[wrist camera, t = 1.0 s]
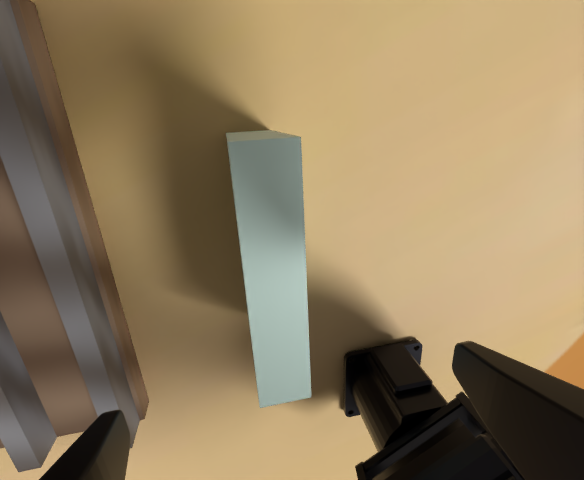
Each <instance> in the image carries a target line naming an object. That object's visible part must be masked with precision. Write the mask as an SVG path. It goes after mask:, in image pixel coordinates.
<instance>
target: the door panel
mask: <svg viewBox="0 0 584 480" xmlns="http://www.w3.org/2000/svg"><path fill="white" fill-rule="evenodd" d="M226 138H227V147H228V155H229V163H230V171H231V180H232V188H233V196H234V204H235V213H236V221H237V229H238V237H239V246H240V254H241V262H242V270H243V279H244V287H245V295H246V303H247V312H248V320H249V327H250V335H251V343H252V351H253V358H254V366H255V374H256V382H257V390H258V397H259V405H260V408H262V407H267V406H272V405H277V404H282V403H286V402H291V401H296V400H301V399H306V398H310V397H311V375H310V350H309V325H308V301H307V276H306V251H305V227H304V202H303V177H302V153H301V137H299V136H295V135H290V134H286V133H281V132H277V131H272V130H262V131H246V132H230V133H226Z"/></svg>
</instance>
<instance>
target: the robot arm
mask: <svg viewBox="0 0 584 480" xmlns="http://www.w3.org/2000/svg"><path fill="white" fill-rule="evenodd" d="M421 354H422V344H421V343H420V342H419V341H418V340H411V341H405V342H400V343H395V344H389V345H384V346H379V347H373V348H368V349H363V350H357V351H352V352H348V353H347V354H346V355H345V356H344V412H345V415H346V416H347V417H352V416H356V415H361V417H362V419H363V421H364V423H365V425H366V427H367V429H368V432H369V434H370V436H371V438H372V440H373V442H374V444H375V447H376V449H377V451H378V453H376V454H375V455H373V456H372V457H370V458H369V459H368V460H366V461H365V462H360V463H359V464H358V465H356V466H355V468H356V472H357V476H358V480H584V389H581V388H579V387H577V386H574V385H572V384H570V383H567V382H565V381H563V380H560V379H558V378H556V377H554V376H551V375H549V374H547V373H544V372H542V371H540V370H537V369H535V368H533V367H530V366H528V365H526V364H523V363H521V362H519V361H516V360H514V359H512V358H509V357H507V356H505V355H502V354H500V353H498V352H495V351H493V350H491V349H488V348H486V347H484V346H481V345H479V344H477V343H474V342H472V341H466V342H461V343H457V344H456V346H455V349H454V356H453V362H452V369H453V372H454V375H455V376H456V378H457V380H458V381H459V383H460V385H461V386H462V388H463V390H464V391H465V393H466V395H467V396H468V397H467V396H466V395H465V394H464V393H463V392H460V393H459V394H457V395H456V398H455V399H453V400H452V401H450V402H449V403H447V401H446V400H445V399H444V397H443V396H442V395H441V394H440V392H439V391H438V390H437V389H436V387H435V386H434V385H433V384H432V380H431V379H430V378H429V376H428V375H427V374H426V373H425V371H424V370H423V369H422V368H421V366H420V362H421ZM350 358H352V359H350ZM349 359H350V360H349ZM130 443H131V436H130V431H129V428H128V425H127V422H126V419H125V416H124V413H123V411H122V410H119V409H118V410H113V411H108V412H104V413H102V414H101V415H100V416H99V417H98V418H97V419H96V420H95V421H94V422H93V423H92V424H91V425H90V426H89V427H88V428H87V429H86V430H85V431H84V433H83V434H82V435H81V436H80V437H79V438H78V439H77V440H76V441H75V442H74V443H73V444H72V445H71V446H70V447H69V448H68V449H67V451H66V452H65V453H64V454H63V455H62V456H61V457H60V458H59V459H58V460H57V461H56V462H55V463H54V464H53V465H52V466H51V467H50V469H49V470H48V471H47V472H46V473H45V474H44V475H43V476H42V477H41V478H40V479H39V480H125V475H126V469H127V462H128V456H129V449H130Z"/></svg>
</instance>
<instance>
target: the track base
mask: <svg viewBox="0 0 584 480" xmlns="http://www.w3.org/2000/svg"><path fill="white" fill-rule="evenodd" d="M148 403H149V399H148V396H147V392H146V389H145V385H144V382H143V379H142V375H141V372H140V368H139V365H138V361H137V358H136V354H135V351H134V347H133V344H132V340H131V337H130V333H129V330H128V326H127V323H126V319H125V316H124V312H123V309H122V305H121V302H120V299H119V295H118V292H117V288H116V285H115V281H114V278H113V274H112V271H111V267H110V264H109V260H108V257H107V253H106V250H105V246H104V243H103V239H102V236H101V232H100V229H99V225H98V222H97V219H96V215H95V212H94V208H93V205H92V201H91V198H90V194H89V191H88V187H87V184H86V180H85V177H84V173H83V170H82V166H81V163H80V159H79V156H78V152H77V149H76V145H75V142H74V139H73V135H72V132H71V128H70V125H69V121H68V118H67V114H66V111H65V107H64V104H63V100H62V97H61V93H60V90H59V86H58V83H57V79H56V76H55V72H54V69H53V65H52V62H51V59H50V55H49V52H48V48H47V45H46V41H45V38H44V34H43V31H42V27H41V24H40V20H39V17H38V13H37V10H36V6H35V4H34V3H32V2H31V1H29V0H0V448H4V447H5V448H6V450H7V452H8V454H9V456H10V458H11V459H12V461H13V463H14V465H15V467H16V469H17V471H18V472H22V471H27V470H31V469H36V468H41V467H42V465H43V463H44V461H45V459H46V457H47V455H48V453H49V451H50V449H51V447H52V445H53V444H54V442H55V440H56V438H57V437H58V436H63V435H68V434H73V433H78V432H83V431H85V430H86V429H87V428H88V427H89V426H90V425H91V424H92V423H93V422H94V421H95V420H96V419H97V418H98V417H99V416H100V415H101V414H102V413H104V412H108V411H113V410H118V409H119V410H122V411H123V413H124V416H125V419H126V422H127V425H128V428H129V431H130V436H131V443H130V448H132V446H133V443H134V439H135V435H136V432H137V428H138V425H139V421H140V420H143V419H145V415H146V411H147V407H148Z"/></svg>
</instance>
